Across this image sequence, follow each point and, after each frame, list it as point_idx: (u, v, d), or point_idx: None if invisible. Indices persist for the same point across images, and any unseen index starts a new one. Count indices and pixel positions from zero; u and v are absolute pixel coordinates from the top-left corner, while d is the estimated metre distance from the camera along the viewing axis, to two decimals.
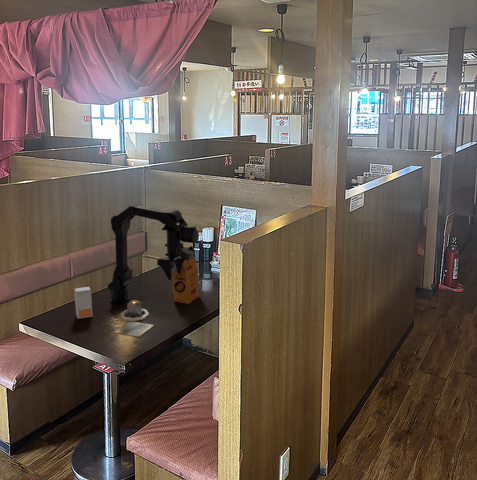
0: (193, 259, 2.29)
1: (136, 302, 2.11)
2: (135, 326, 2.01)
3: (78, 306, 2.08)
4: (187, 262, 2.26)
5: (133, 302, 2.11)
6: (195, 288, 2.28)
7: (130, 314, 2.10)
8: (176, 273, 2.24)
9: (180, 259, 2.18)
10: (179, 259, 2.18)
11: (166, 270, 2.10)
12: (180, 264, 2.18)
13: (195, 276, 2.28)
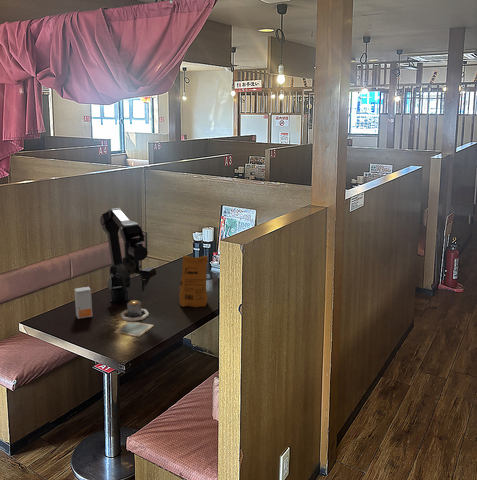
0: (204, 267, 2.19)
1: (136, 302, 2.11)
2: (135, 326, 2.01)
3: (78, 306, 2.08)
4: (195, 267, 2.20)
5: (133, 302, 2.11)
6: (192, 295, 2.20)
7: (130, 314, 2.10)
8: None
9: None
10: None
11: None
12: None
13: (196, 284, 2.19)
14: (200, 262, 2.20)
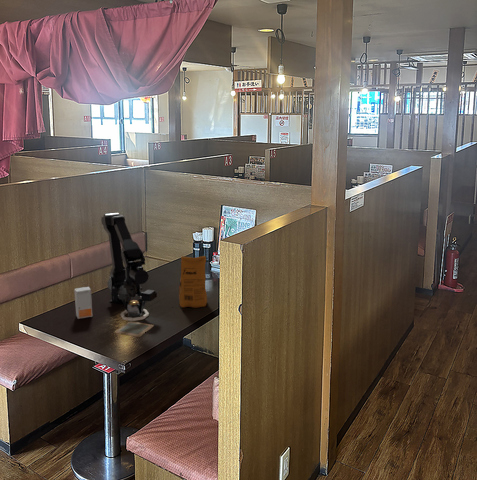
0: (202, 267, 2.19)
1: (136, 302, 2.11)
2: (135, 326, 2.01)
3: (78, 306, 2.08)
4: (193, 267, 2.20)
5: (133, 302, 2.11)
6: (191, 296, 2.20)
7: (130, 314, 2.10)
8: None
9: None
10: None
11: None
12: None
13: (195, 284, 2.19)
14: (198, 262, 2.21)
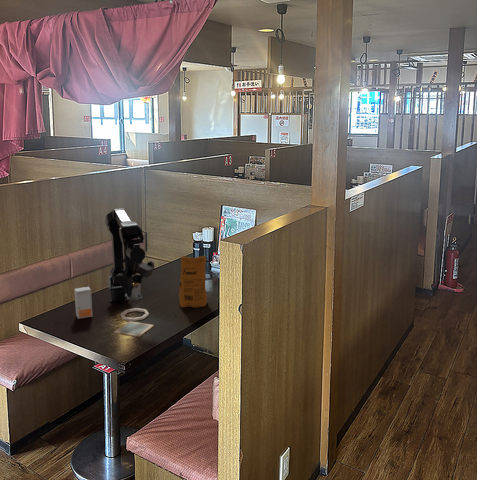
0: (202, 267, 2.19)
1: (134, 282, 2.01)
2: (135, 326, 2.01)
3: (78, 306, 2.08)
4: (193, 267, 2.20)
5: (134, 283, 2.00)
6: (191, 296, 2.20)
7: (139, 294, 2.00)
8: None
9: (138, 276, 2.03)
10: (137, 276, 2.03)
11: (125, 287, 1.97)
12: (138, 281, 2.03)
13: (195, 284, 2.19)
14: (198, 262, 2.21)
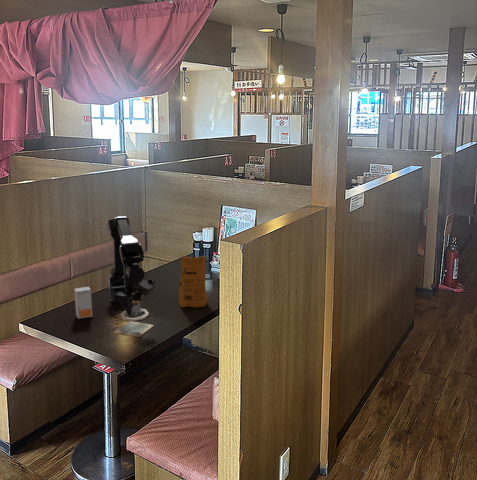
0: (202, 267, 2.19)
1: (134, 300, 1.98)
2: (135, 326, 2.01)
3: (78, 306, 2.08)
4: (193, 267, 2.20)
5: (134, 301, 1.97)
6: (191, 296, 2.20)
7: (139, 312, 1.97)
8: None
9: (138, 293, 2.00)
10: (137, 293, 2.00)
11: (125, 305, 1.93)
12: (138, 299, 2.00)
13: (195, 284, 2.19)
14: (198, 262, 2.21)
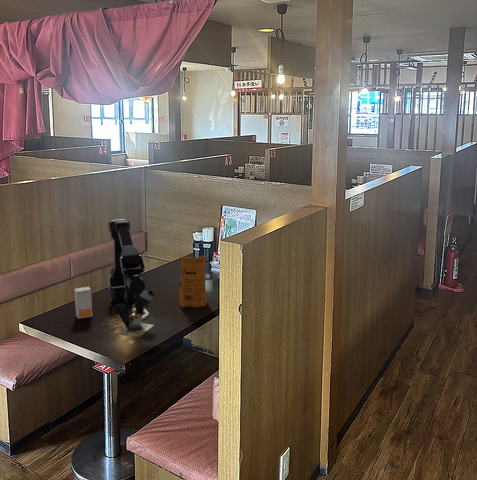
0: (202, 267, 2.19)
1: (134, 313, 1.99)
2: None
3: (78, 306, 2.08)
4: (193, 267, 2.20)
5: (135, 314, 1.98)
6: (191, 296, 2.20)
7: (139, 326, 1.98)
8: None
9: None
10: (139, 302, 2.02)
11: (123, 317, 1.93)
12: (141, 308, 2.02)
13: (195, 284, 2.19)
14: (198, 262, 2.21)
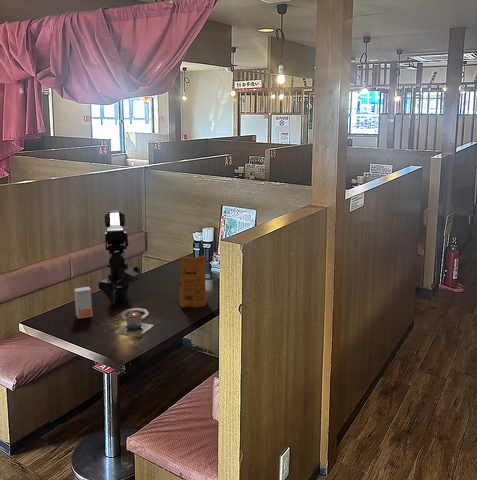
0: (202, 267, 2.19)
1: (134, 313, 1.99)
2: None
3: (78, 306, 2.08)
4: (193, 267, 2.20)
5: (135, 314, 1.98)
6: (191, 296, 2.20)
7: (139, 326, 1.98)
8: None
9: (126, 279, 2.02)
10: (125, 279, 2.02)
11: (108, 294, 1.93)
12: (126, 285, 2.02)
13: (195, 284, 2.19)
14: (198, 262, 2.21)
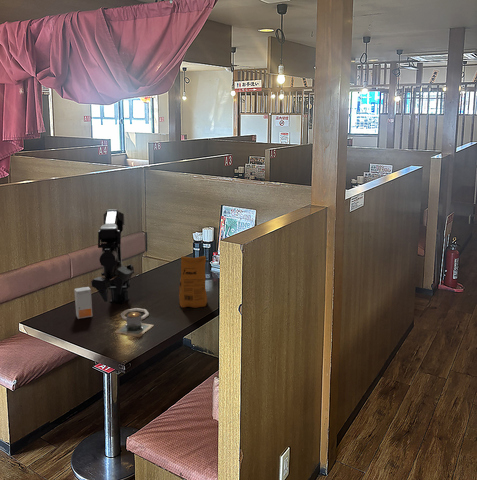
0: (202, 267, 2.19)
1: (134, 313, 1.99)
2: None
3: (78, 306, 2.08)
4: (193, 267, 2.20)
5: (135, 314, 1.98)
6: (191, 296, 2.20)
7: (139, 326, 1.98)
8: None
9: (120, 278, 2.03)
10: (119, 278, 2.03)
11: (101, 291, 1.94)
12: (120, 283, 2.03)
13: (195, 284, 2.19)
14: (198, 262, 2.21)
